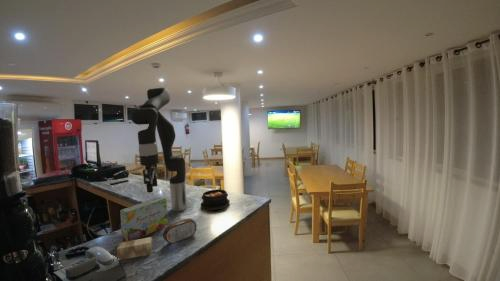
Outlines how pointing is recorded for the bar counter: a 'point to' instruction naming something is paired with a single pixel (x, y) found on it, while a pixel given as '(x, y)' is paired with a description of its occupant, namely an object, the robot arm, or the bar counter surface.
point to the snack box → (143, 218)
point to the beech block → (134, 248)
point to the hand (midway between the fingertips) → (152, 189)
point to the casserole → (215, 199)
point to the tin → (179, 231)
